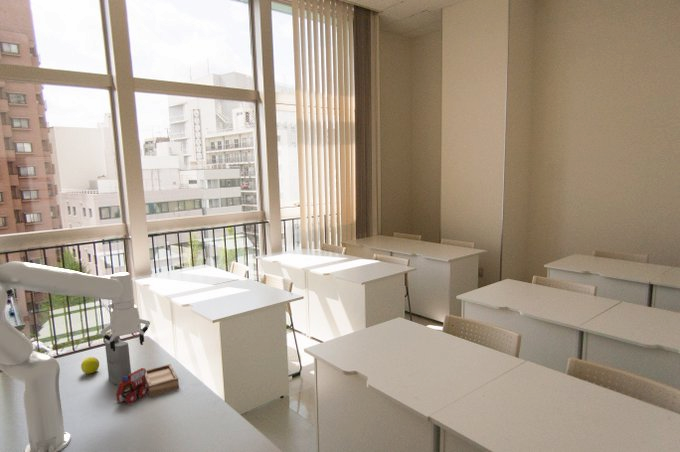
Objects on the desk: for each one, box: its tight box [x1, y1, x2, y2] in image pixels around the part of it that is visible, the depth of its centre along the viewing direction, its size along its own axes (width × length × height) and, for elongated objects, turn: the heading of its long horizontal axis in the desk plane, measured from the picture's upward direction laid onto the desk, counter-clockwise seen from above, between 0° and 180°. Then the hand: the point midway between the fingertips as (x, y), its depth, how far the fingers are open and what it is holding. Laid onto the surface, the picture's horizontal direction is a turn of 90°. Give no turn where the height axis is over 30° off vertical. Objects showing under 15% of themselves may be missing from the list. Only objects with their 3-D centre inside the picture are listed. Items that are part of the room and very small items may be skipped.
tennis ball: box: [80, 356, 100, 375], centre depth 190 cm, size 7×7×7 cm
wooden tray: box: [145, 363, 180, 397], centre depth 177 cm, size 16×11×4 cm
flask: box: [104, 336, 132, 386], centre depth 181 cm, size 15×6×20 cm, turn 50°
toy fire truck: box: [116, 367, 149, 405], centre depth 166 cm, size 7×12×10 cm, turn 151°
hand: (127, 346), depth 164 cm, fingers open, 9 cm apart
